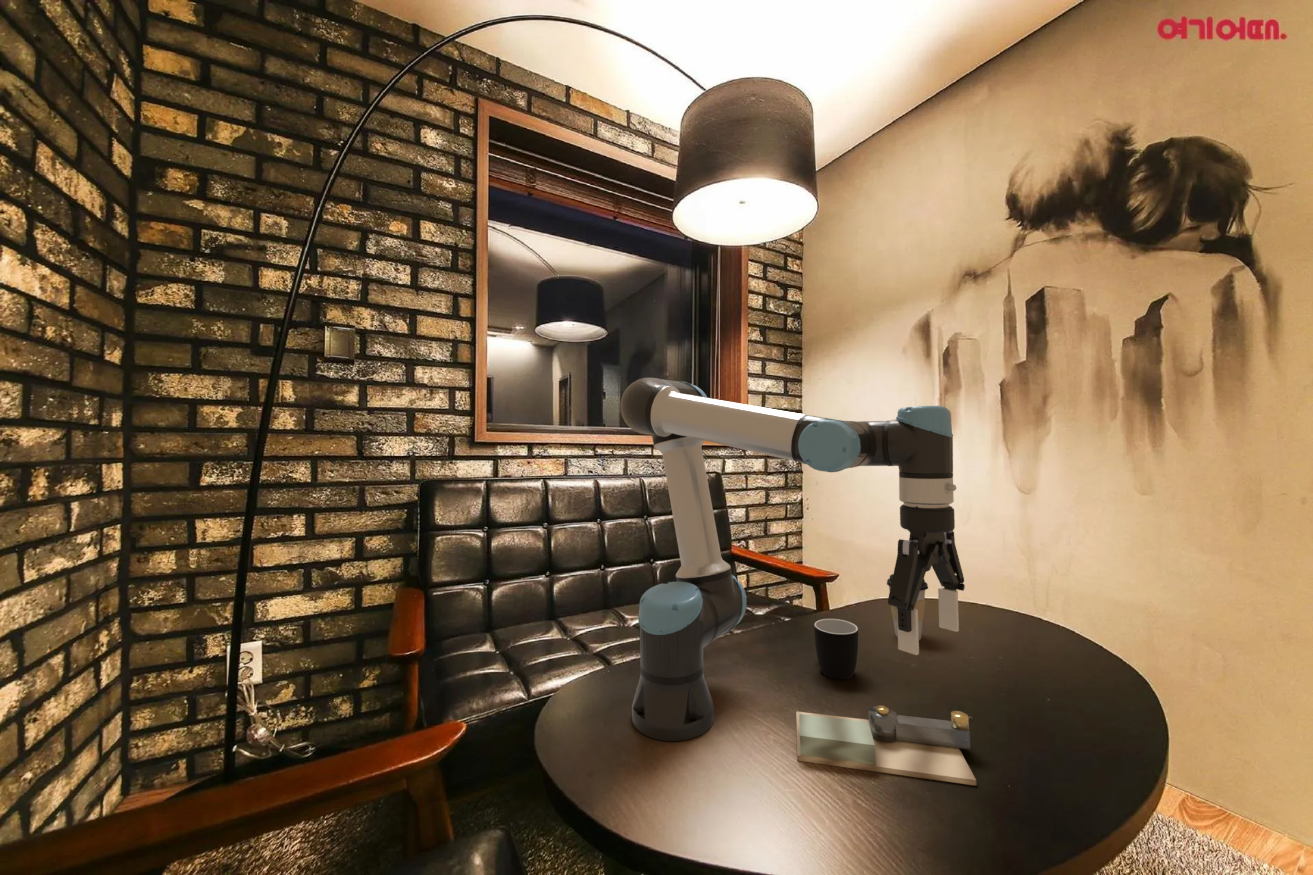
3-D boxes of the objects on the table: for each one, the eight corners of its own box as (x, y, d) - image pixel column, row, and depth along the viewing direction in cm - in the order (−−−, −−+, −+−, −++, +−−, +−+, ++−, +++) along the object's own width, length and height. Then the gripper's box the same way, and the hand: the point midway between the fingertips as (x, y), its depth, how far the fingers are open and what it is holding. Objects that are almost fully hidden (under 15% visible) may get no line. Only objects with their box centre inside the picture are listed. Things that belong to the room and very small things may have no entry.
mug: (868, 679, 103) (867, 631, 104) (830, 685, 101) (829, 636, 101) (834, 655, 115) (833, 612, 115) (800, 660, 113) (799, 616, 113)
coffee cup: (879, 632, 128) (878, 574, 128) (908, 627, 131) (907, 570, 131) (908, 646, 119) (906, 584, 119) (938, 640, 122) (937, 580, 122)
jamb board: (797, 760, 78) (796, 736, 78) (796, 715, 91) (795, 694, 91) (976, 785, 71) (975, 759, 71) (948, 733, 84) (947, 711, 84)
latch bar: (871, 739, 81) (870, 711, 81) (867, 724, 85) (866, 698, 85) (973, 752, 77) (973, 723, 77) (964, 736, 81) (963, 708, 81)
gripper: (911, 515, 67) (915, 671, 67) (984, 499, 82) (988, 627, 82) (860, 509, 73) (864, 653, 73) (937, 495, 88) (940, 614, 88)
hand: (929, 639), depth 77 cm, fingers open, 13 cm apart
